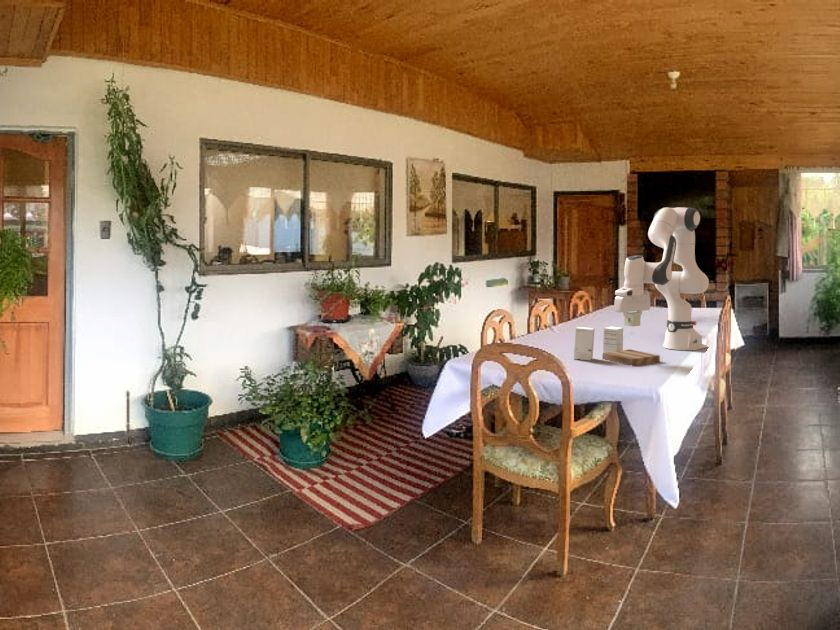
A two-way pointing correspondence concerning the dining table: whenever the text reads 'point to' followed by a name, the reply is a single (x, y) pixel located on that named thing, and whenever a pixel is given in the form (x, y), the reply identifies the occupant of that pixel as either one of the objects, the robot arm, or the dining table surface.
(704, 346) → the robot arm
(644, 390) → the dining table surface
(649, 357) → the walnut stand
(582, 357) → the skincare box
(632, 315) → the sage block
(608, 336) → the supplement box
